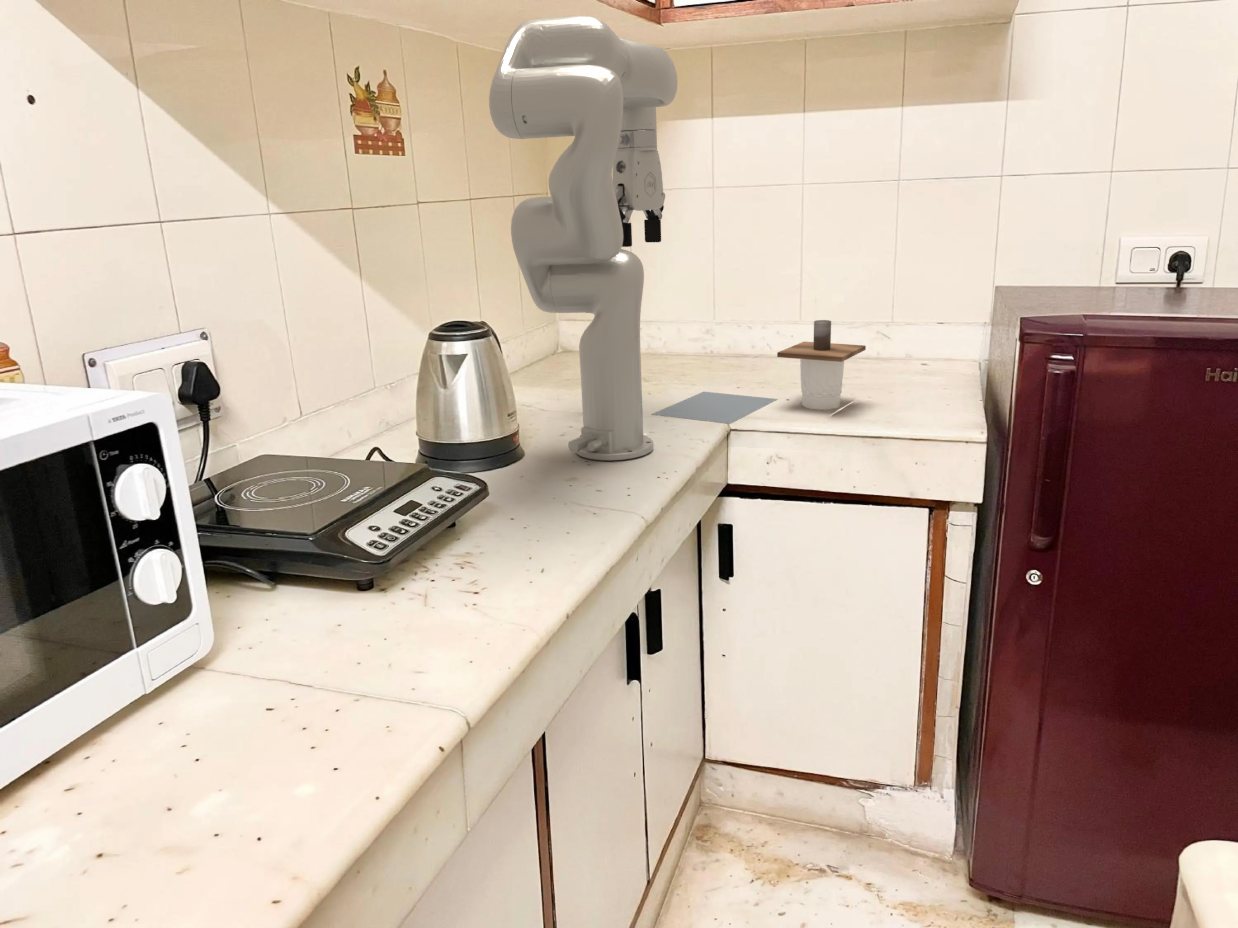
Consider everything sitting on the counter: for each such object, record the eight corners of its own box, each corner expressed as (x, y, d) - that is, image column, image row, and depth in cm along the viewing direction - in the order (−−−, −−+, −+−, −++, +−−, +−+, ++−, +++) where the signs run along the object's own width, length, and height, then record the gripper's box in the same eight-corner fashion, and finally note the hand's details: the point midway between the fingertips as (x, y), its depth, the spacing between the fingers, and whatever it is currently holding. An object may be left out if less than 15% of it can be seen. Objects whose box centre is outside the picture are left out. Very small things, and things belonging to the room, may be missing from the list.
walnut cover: (841, 362, 158) (842, 328, 156) (777, 357, 164) (777, 324, 162) (865, 350, 167) (866, 318, 165) (803, 345, 174) (804, 315, 172)
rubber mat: (729, 426, 158) (729, 423, 158) (651, 416, 167) (651, 414, 167) (777, 401, 174) (777, 399, 174) (703, 393, 183) (703, 391, 183)
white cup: (793, 410, 167) (794, 356, 164) (806, 400, 174) (807, 348, 171) (836, 413, 164) (838, 358, 161) (847, 403, 170) (849, 350, 167)
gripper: (626, 141, 149) (629, 248, 155) (679, 142, 163) (681, 240, 168) (588, 144, 153) (593, 248, 159) (643, 144, 167) (646, 240, 172)
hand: (638, 244), depth 163 cm, fingers open, 9 cm apart
